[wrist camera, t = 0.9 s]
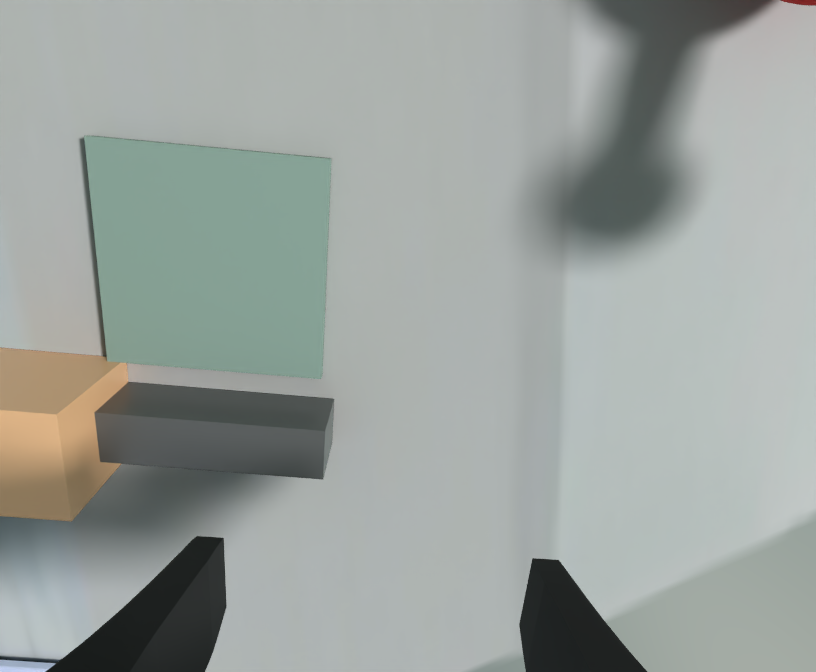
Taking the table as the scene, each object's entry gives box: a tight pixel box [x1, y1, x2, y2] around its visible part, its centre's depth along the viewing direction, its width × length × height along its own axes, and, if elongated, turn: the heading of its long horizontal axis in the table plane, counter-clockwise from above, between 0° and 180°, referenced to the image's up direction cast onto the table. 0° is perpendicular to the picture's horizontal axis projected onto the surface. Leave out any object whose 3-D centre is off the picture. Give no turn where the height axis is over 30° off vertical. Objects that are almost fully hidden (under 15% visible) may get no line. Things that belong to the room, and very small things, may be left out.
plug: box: [0, 348, 334, 521], centre depth 20 cm, size 4×13×4 cm, turn 85°
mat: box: [84, 136, 331, 379], centre depth 20 cm, size 8×8×1 cm
